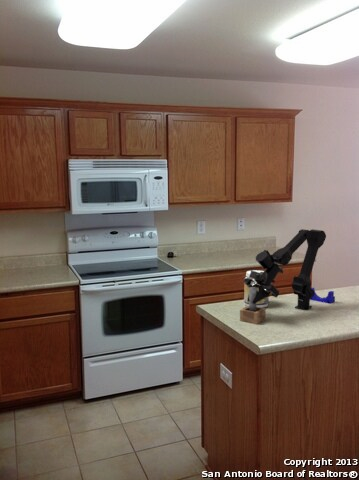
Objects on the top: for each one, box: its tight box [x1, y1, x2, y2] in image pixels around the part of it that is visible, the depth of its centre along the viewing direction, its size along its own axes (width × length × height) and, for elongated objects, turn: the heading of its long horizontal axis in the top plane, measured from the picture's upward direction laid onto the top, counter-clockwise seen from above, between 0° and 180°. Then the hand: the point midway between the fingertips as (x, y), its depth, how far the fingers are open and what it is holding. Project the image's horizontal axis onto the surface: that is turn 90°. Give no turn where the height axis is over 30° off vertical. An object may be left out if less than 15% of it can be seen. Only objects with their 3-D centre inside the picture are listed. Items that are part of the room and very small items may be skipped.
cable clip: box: [310, 287, 336, 305], centre depth 216 cm, size 12×4×6 cm, turn 46°
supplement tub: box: [243, 269, 270, 308], centre depth 210 cm, size 12×12×17 cm
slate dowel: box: [249, 287, 257, 312], centre depth 188 cm, size 3×3×13 cm
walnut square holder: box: [239, 306, 266, 325], centre depth 189 cm, size 8×8×5 cm
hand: (250, 302), depth 187 cm, fingers closed on slate dowel, 3 cm apart
